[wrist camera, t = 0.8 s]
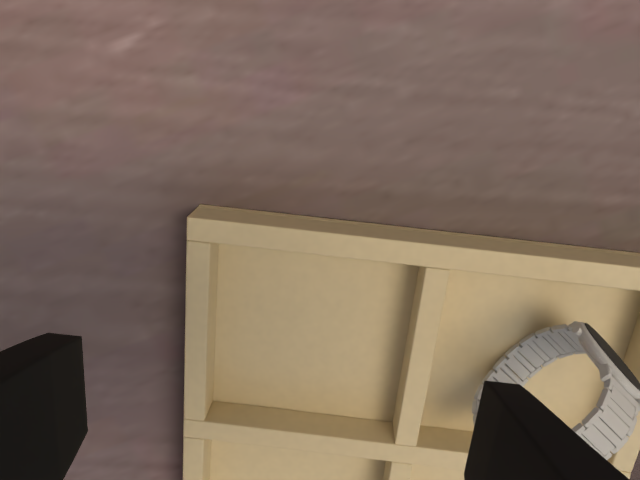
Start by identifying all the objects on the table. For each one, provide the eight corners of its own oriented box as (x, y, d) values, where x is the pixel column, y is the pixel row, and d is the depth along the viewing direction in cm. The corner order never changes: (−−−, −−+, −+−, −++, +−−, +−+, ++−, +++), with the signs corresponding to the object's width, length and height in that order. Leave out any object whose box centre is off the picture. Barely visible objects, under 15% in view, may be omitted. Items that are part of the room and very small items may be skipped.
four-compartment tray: (557, 601, 24) (571, 638, 22) (191, 555, 24) (180, 588, 22) (675, 256, 18) (704, 274, 17) (199, 203, 19) (186, 216, 17)
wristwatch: (605, 339, 19) (689, 432, 14) (495, 419, 20) (538, 528, 16) (554, 286, 18) (623, 364, 14) (444, 372, 20) (473, 470, 15)
